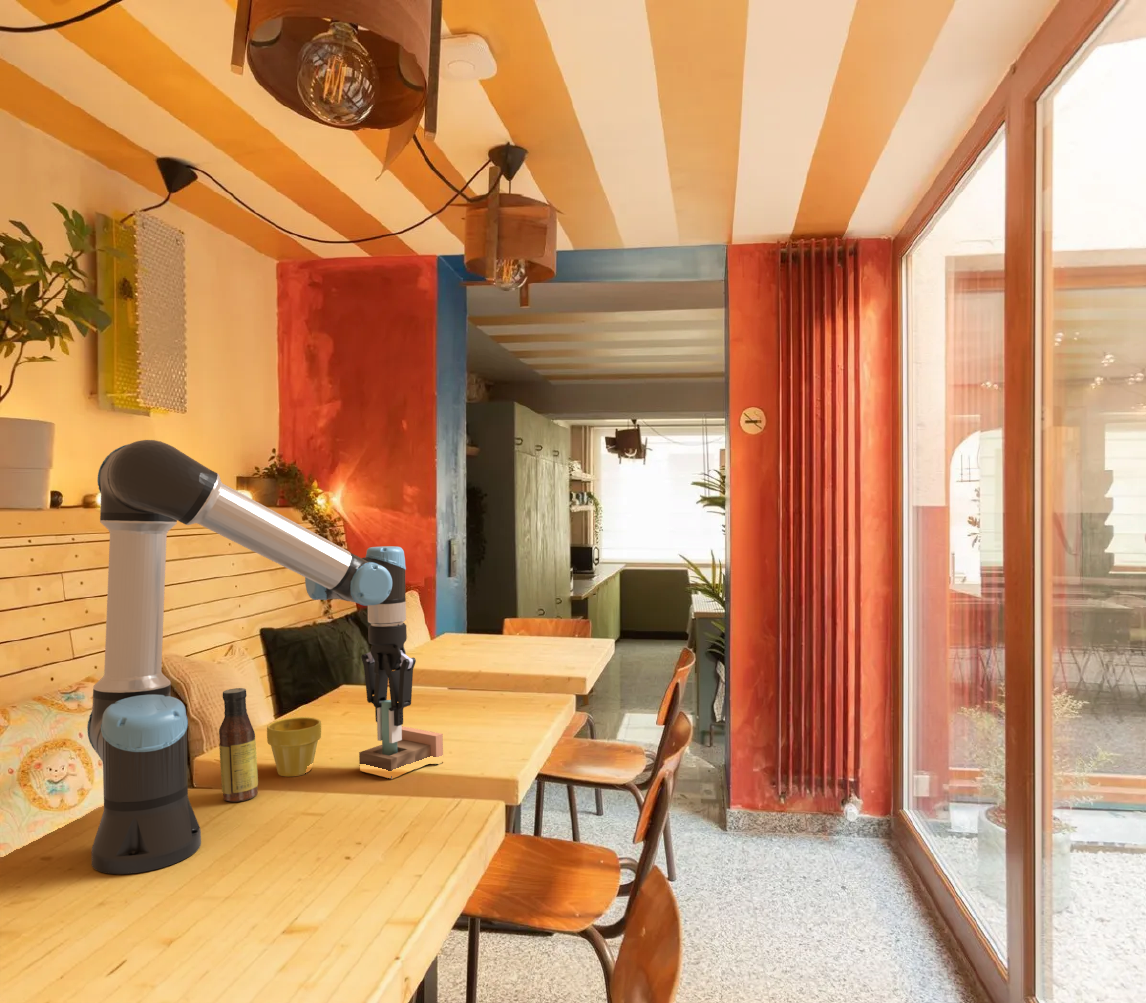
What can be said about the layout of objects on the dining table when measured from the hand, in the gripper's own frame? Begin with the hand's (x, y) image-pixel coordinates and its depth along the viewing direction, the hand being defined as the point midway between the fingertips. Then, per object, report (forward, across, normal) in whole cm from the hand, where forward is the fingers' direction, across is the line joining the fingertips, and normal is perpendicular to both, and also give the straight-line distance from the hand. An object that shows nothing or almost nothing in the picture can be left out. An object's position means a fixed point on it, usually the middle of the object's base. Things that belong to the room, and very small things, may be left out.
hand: (389, 739), depth 167 cm
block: (+6, 0, -2) cm, 6 cm away
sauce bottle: (+6, +13, +25) cm, 29 cm away
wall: (+6, 0, -8) cm, 10 cm away
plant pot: (+6, +16, +10) cm, 20 cm away
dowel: (+4, 0, 0) cm, 4 cm away
